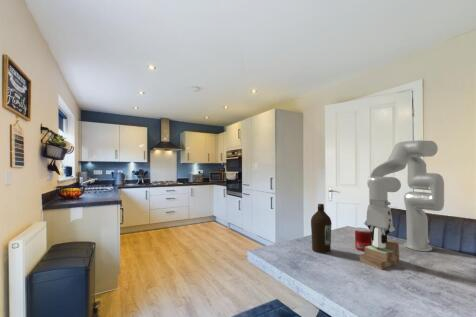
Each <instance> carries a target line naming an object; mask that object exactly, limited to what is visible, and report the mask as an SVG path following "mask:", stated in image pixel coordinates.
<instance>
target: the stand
mask: <svg viewBox="0 0 476 317" xmlns="http://www.w3.org/2000/svg"><path fill="white" fill-rule="evenodd" d="M385 244H386V247H385V248H378V247H375V246H374V245H373V244H372V245H371V246H367V247H365V252H364V253H363V254H359V262H360V263H363V264H366V265H368V266H370V267H374V268H376V269H378V270H381V271H382V270H385V269H387V268H389V267H392V266H395V265H397V264H399V263H400V247H399V246H400V243H399V242H397V241H394V240H389V239H387V242H386V243H385Z"/></svg>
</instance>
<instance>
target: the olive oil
mask: <svg viewBox="0 0 476 317" xmlns="http://www.w3.org/2000/svg"><path fill="white" fill-rule="evenodd" d="M332 224H333V223H332V220H331V217H330V216H329V215H328V213H326V211H325V204H323V203H318V204H317V211H316V212H315V213H314V214H313V215H312V216H311V219H310V228H311V231H310V232H311V249H312V251H313V252H314V253H319V254H329V253H331V252H332V250H331V248H332V246H331V245H332Z"/></svg>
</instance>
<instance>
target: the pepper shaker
mask: <svg viewBox="0 0 476 317" xmlns="http://www.w3.org/2000/svg"><path fill="white" fill-rule="evenodd" d="M381 235H383V234H382V228H379V227H375V228H374V241H372V245H374V246H375V247H378V248H385V247H386V244H385V243H384V244H383V243H382V242H381Z"/></svg>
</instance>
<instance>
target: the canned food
mask: <svg viewBox="0 0 476 317" xmlns="http://www.w3.org/2000/svg"><path fill="white" fill-rule="evenodd" d="M354 241H355V242H354V244H355V249H356V250H358V251H360V252H364V253H365V247H367V246H371V245H373V241H372V238H371V232H370V229H369V228H368V227H367V228H366V227H356V228H354Z"/></svg>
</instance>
